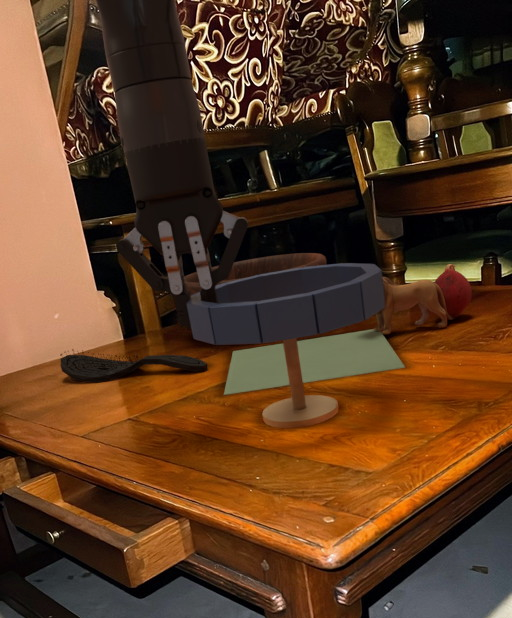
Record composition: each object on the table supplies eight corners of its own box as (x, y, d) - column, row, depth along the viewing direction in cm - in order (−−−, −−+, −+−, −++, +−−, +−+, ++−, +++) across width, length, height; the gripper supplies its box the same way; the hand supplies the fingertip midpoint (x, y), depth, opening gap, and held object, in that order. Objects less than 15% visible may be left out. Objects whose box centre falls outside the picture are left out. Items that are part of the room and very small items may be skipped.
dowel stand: (335, 401, 77) (323, 302, 73) (342, 425, 69) (329, 317, 65) (264, 411, 77) (248, 314, 73) (263, 437, 70) (245, 330, 66)
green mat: (379, 332, 103) (378, 328, 103) (405, 371, 82) (405, 367, 82) (233, 354, 105) (232, 351, 104) (224, 399, 84) (223, 394, 84)
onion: (467, 323, 99) (464, 266, 96) (427, 325, 102) (423, 270, 99) (476, 313, 104) (474, 259, 101) (438, 315, 107) (435, 262, 104)
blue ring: (369, 288, 77) (365, 256, 76) (398, 321, 60) (394, 280, 59) (203, 315, 79) (197, 285, 77) (185, 356, 61) (177, 317, 60)
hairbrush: (189, 359, 94) (45, 358, 104) (193, 385, 95) (51, 381, 106) (217, 343, 101) (79, 343, 111) (220, 367, 102) (84, 366, 113)
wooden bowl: (162, 341, 122) (149, 283, 118) (267, 307, 136) (259, 254, 132) (252, 352, 104) (241, 283, 100) (363, 312, 118) (357, 250, 114)
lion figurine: (362, 340, 97) (358, 275, 93) (350, 333, 101) (346, 270, 98) (460, 325, 99) (461, 261, 95) (444, 319, 103) (444, 257, 100)
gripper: (239, 130, 66) (268, 309, 73) (101, 156, 67) (142, 331, 74) (235, 125, 59) (268, 324, 66) (81, 154, 60) (128, 347, 67)
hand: (201, 327), depth 70 cm, fingers closed on blue ring, 1 cm apart
